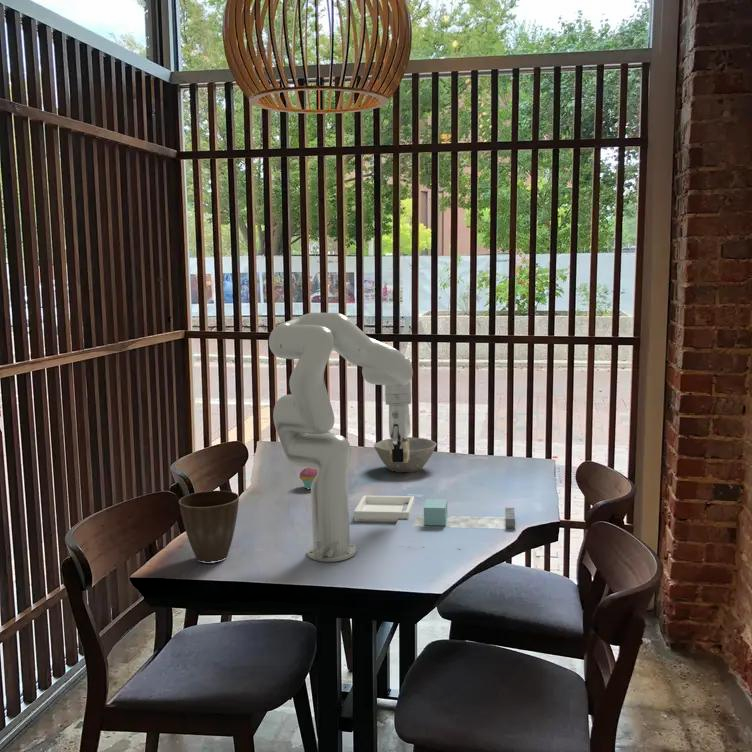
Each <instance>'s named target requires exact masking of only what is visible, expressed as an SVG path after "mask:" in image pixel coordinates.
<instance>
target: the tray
mask: <svg viewBox="0 0 752 752" xmlns="http://www.w3.org/2000/svg"><path fill="white" fill-rule="evenodd" d="M415 503H416V501H415V496H413V495H412V496H411V495H408V496H407V495H405V496H404V495H403V496H402V495H363V496H362V497H361V499H360V501H359V503H358V504H357V506H356V507H355V509H354V511H353V516H354V518H353V520H354V522H366V523H367V522H368V523H371V522H372V523H376V522H377V523H397V522H398V520H399V519H407V520H408V519H410V517H411V514H412V511H413V508H414V506H415ZM405 504H407V506H406V509H405V510H403V508H404V506H405Z"/></svg>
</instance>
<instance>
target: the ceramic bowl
mask: <svg viewBox="0 0 752 752" xmlns="http://www.w3.org/2000/svg"><path fill="white" fill-rule="evenodd" d="M406 439H409V457H410V459H409V460H408V462H407V463H396V462H390V443H389V442H390V441H391V440H392V439H391V438H386V439H383V440H380V441H378V442H376V443H374V444H373V448H374V449H375V451H376V454H377V455H378V457H379V458H380V459H381V461H382V463H383V464H384V466H385V467H386V468H387V469H388V470H390V471H392V472H394V471H397V472H396V473H402V472H408V473H411V472H412V473H416V472H418V471H420V470H421V469H423V468H424V467H425V465H426V464H427V463H428V462H429V460H430V458H431V457H432V455H433V454H434V453H433V452H434V451H435V449H436V447H437V442H436V441H434V440H432V439H428V438H422V437H421V438H420V437H409V436H408V437H407V438H406Z"/></svg>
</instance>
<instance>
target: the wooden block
mask: <svg viewBox="0 0 752 752" xmlns="http://www.w3.org/2000/svg"><path fill="white" fill-rule="evenodd" d="M398 441H399V442H400V440H398ZM389 443H390V462H393V461H392V440H391V441H390V442H389ZM402 448H403V460H404V461H403V462H396V463H407V462H408V460H409V459H410V457H409V439H402Z"/></svg>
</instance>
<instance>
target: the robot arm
mask: <svg viewBox="0 0 752 752" xmlns="http://www.w3.org/2000/svg"><path fill="white" fill-rule="evenodd" d="M268 346H269V349H270V351H271V353H272V354H273V355H274V356H275V357H276V358H279V359H284V360H285V359H286V360H297V363H296V365H295V367H294V368H293V369H292V371H291V374H290V377H289V384H288V386H289V390H290V394H286V395H282V396H281V397H280V398H278V400H276V402H275V403H274V404H275V405H274V406H273V407H274V408H273V413H272V414H273V415H272V418H273V424H274V427H275V428H274V429H275V430H276V433H277V436H278V438H279V442H280V444H281V445H280V446H281V447H282V450H283V453H284V455H285V458H286V459H287V461H288V462H289V463H290V464H291V465H293V466H295V467H299V468H304V469H306V468H312V469H317V470H318V472H317V475H316V477H315V478H314V480H313V482H312V485H311V490H310V501H311V503H310V505H311V527H312V545H310V546H309V547H308V548H307V556H308V558H309V559H312V560H314V561H316V562H317V561H318V562H327V563H331V562H333V563H335V562H340V561H346V560H349V559H350V558H352V557H354V556H355V555H356V554H357V547H356V545H354V543H351V534H350V533H351V531H350V508H349V506H350V505H349V504H350V503H349V481H348V480H349V466H350V461H351V454H352V448H351V445H350V441H348V439H347V438H346V437H344V436H343V435H341V434H338V433H334V432H333V433H332V432H330V431H331V430H332V429H333V428H334V426H335V425H334V424H335V415H334V410H333V407H332V403H331V400H330V397H329V393H328V390H327V387H326V383H325V369H326V366H327V364H328V361H329V358H330V356H331V354H332V352H333V350H334V351H335V352H336V353H337V354H338V355H340V356H341V357H342V358H343V359H344V360H345V361H347V362H348V363H350V364H353V365H356V366H358V367H362V368H361V373H362V377H363V379H364V381H366V382H367V383H368V384H371V385H379V386H384V397H385V398H384V399H385V400H384V401H385V405H387V406H388V430H389V431H388V434H389V439H392V461H393V462H403V461H404V460H403V448H402V439H406V438H407V437H409V436H410V434H411V419H410V418H411V417H410V407H409V405H411V404H412V388H411V387H412V384H411V383H412V382H411V380H412V378H413V373H414V371H413V366H412V364H411V360H410V358H409V357H408V356H405V355H404V354H403V353H402V352H401V351H399V350H398V349H397V348H394V347H393V346H390V345H388V344H386V343H383V342H382V341H379V340H376V339H375V338H372V337H370V336H368V335H366V333H365V332H363V331H362V329H360V328H359V327H358V326H357V325H356V323H354V322H353V321H351V319H349V318H348V317H347V316H346V315H344V314H342V313H339V312H310V313H309V312H308V313H306V314H303V315H300V316H297V317H295V318H293V319H290V320H288V321H285V322H282V323H279V324H278V325H277V326H275V327H274V328H273V329H272V330H271V332H270V335H269V338H268ZM398 440H400V442H399V441H398Z"/></svg>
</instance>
